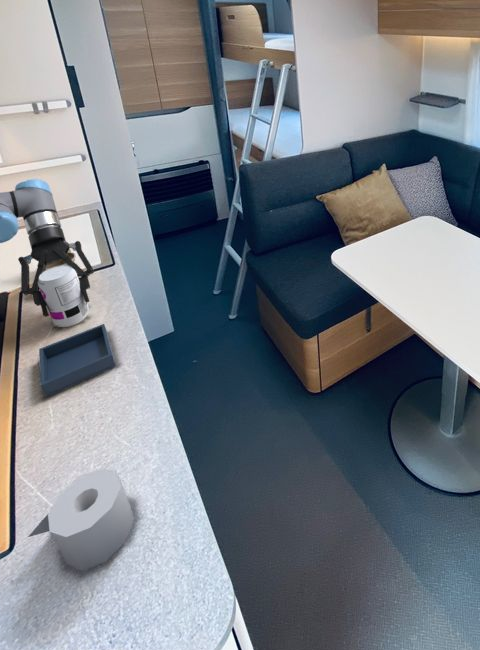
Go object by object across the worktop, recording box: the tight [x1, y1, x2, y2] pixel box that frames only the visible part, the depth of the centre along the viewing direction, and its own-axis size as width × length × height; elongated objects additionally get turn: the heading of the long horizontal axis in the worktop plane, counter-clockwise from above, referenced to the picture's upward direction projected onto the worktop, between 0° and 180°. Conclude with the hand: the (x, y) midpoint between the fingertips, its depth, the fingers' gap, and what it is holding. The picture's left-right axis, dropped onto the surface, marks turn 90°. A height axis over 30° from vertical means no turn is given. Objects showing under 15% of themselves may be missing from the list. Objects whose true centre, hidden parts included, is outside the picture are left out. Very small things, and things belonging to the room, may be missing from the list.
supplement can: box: [38, 265, 91, 328], centre depth 109 cm, size 8×8×15 cm
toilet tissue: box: [27, 467, 135, 572], centre depth 63 cm, size 9×13×9 cm
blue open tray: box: [38, 323, 117, 398], centre depth 97 cm, size 13×13×4 cm
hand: (67, 307), depth 108 cm, fingers closed on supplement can, 8 cm apart
